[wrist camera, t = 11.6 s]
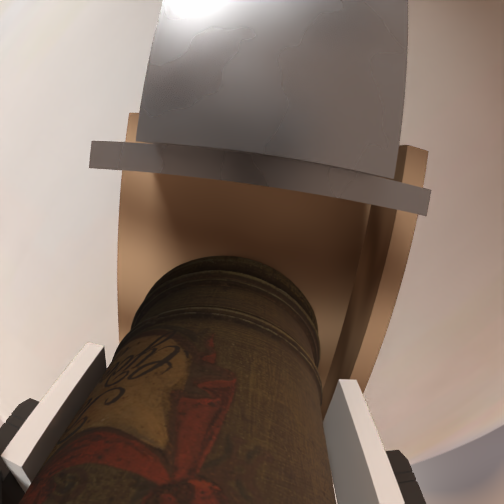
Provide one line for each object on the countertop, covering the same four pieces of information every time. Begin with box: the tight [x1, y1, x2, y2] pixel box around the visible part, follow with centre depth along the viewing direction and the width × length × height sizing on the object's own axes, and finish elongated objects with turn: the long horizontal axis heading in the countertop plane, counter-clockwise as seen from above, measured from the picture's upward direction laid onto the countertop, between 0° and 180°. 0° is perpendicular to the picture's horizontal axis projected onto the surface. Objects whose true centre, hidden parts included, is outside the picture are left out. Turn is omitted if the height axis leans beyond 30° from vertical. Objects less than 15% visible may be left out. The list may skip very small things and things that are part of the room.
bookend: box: [89, 0, 431, 216], centre depth 10 cm, size 7×10×8 cm
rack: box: [117, 113, 428, 421], centre depth 12 cm, size 23×13×14 cm, turn 172°
